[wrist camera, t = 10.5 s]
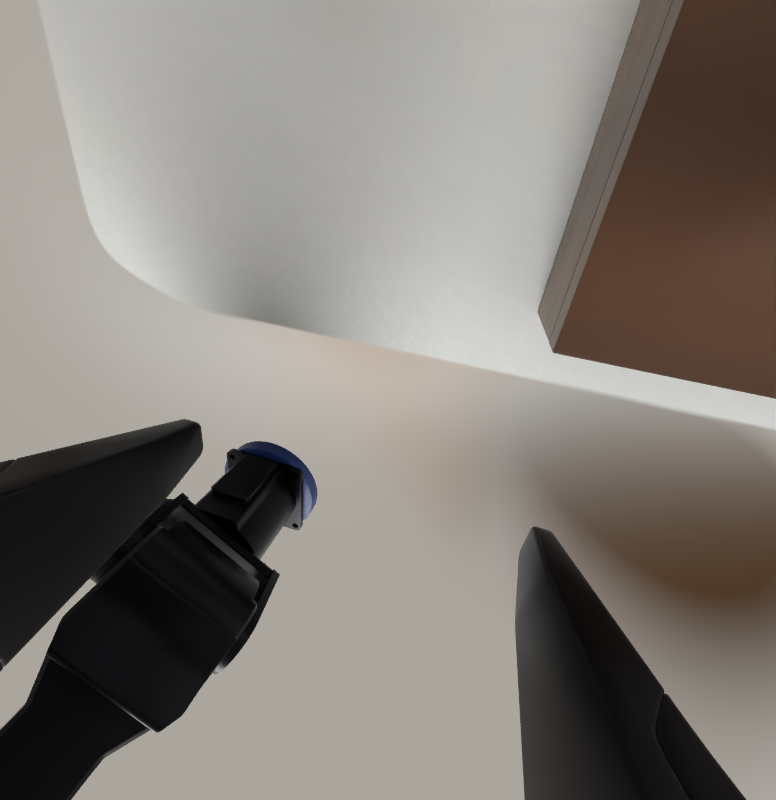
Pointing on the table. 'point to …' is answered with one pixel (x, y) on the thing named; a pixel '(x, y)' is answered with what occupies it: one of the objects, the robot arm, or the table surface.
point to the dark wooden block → (679, 205)
